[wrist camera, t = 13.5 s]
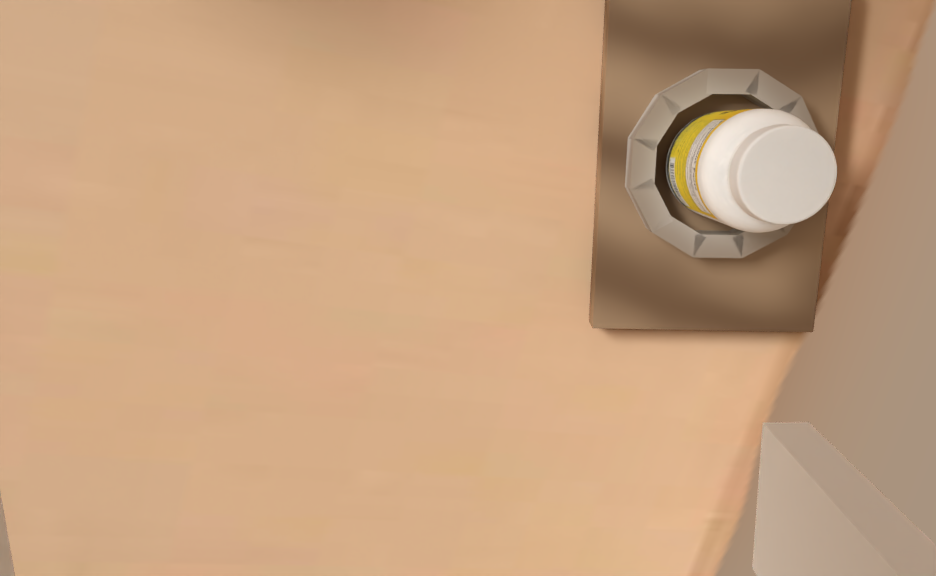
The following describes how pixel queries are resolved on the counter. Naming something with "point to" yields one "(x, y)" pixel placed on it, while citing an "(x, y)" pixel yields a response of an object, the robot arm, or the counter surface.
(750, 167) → the supplement bottle
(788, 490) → the robot arm
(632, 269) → the mount board
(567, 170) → the counter surface
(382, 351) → the counter surface
